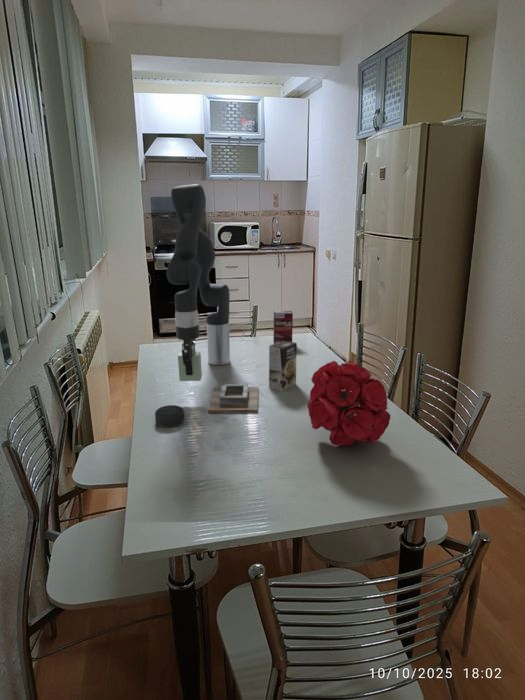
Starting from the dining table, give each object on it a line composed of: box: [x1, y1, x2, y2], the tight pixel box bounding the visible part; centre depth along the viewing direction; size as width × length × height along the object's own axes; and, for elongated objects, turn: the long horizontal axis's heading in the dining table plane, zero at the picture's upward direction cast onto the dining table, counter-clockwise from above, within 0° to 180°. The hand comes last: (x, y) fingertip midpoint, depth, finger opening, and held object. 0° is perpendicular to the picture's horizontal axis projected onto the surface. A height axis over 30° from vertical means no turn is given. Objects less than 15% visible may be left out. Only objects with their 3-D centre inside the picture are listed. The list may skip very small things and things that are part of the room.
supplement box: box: [272, 310, 294, 344], centre depth 223 cm, size 9×5×16 cm, turn 95°
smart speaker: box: [154, 404, 186, 428], centre depth 147 cm, size 9×9×4 cm
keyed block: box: [177, 351, 203, 382], centre depth 160 cm, size 4×7×9 cm, turn 90°
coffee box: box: [268, 341, 298, 392], centre depth 172 cm, size 9×6×16 cm
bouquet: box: [306, 360, 391, 446], centre depth 134 cm, size 22×24×30 cm
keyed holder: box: [207, 383, 259, 414], centre depth 162 cm, size 20×16×4 cm
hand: (190, 372), depth 161 cm, fingers closed on keyed block, 4 cm apart
